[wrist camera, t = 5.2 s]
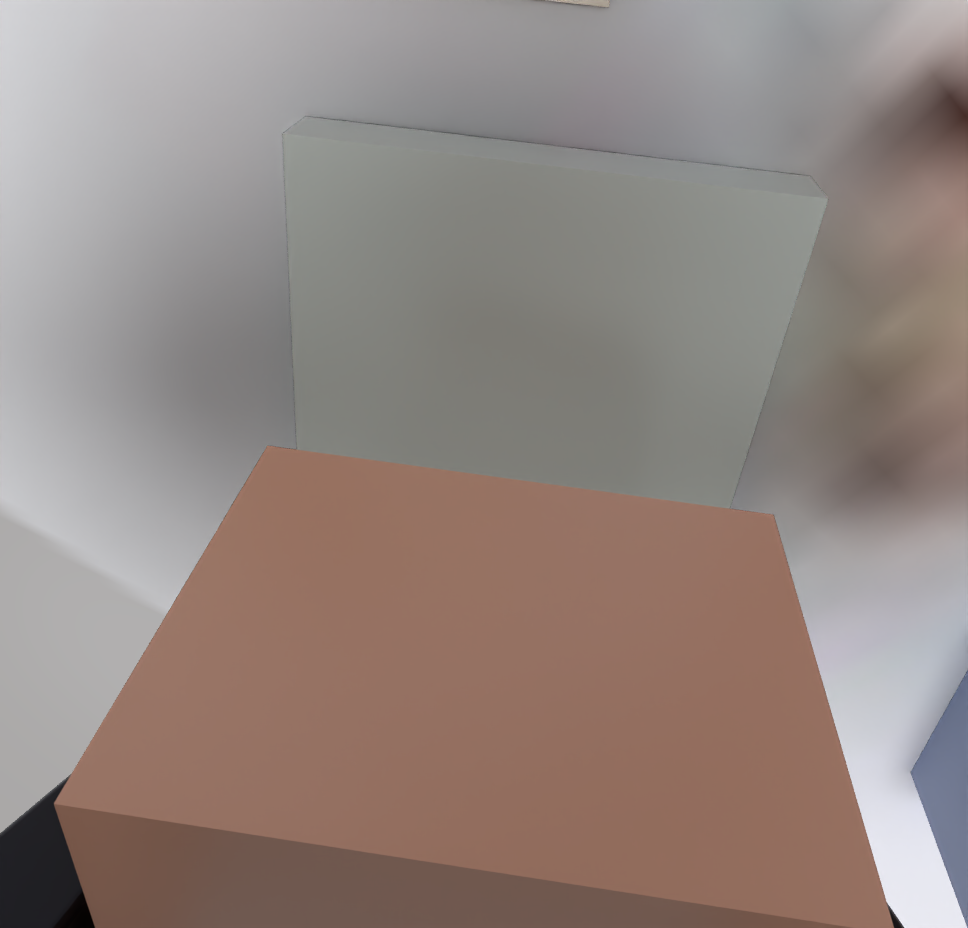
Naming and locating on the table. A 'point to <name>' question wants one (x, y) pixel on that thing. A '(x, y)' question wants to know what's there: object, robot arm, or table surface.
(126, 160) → the table surface
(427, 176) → the grey baseplate
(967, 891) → the navy brick
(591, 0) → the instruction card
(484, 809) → the terracotta brick
